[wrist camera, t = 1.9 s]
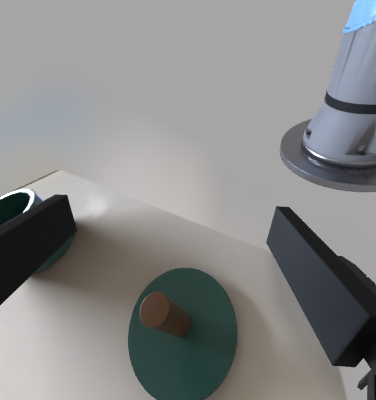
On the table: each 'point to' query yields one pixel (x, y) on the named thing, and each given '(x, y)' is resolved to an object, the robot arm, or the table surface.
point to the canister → (19, 203)
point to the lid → (182, 335)
